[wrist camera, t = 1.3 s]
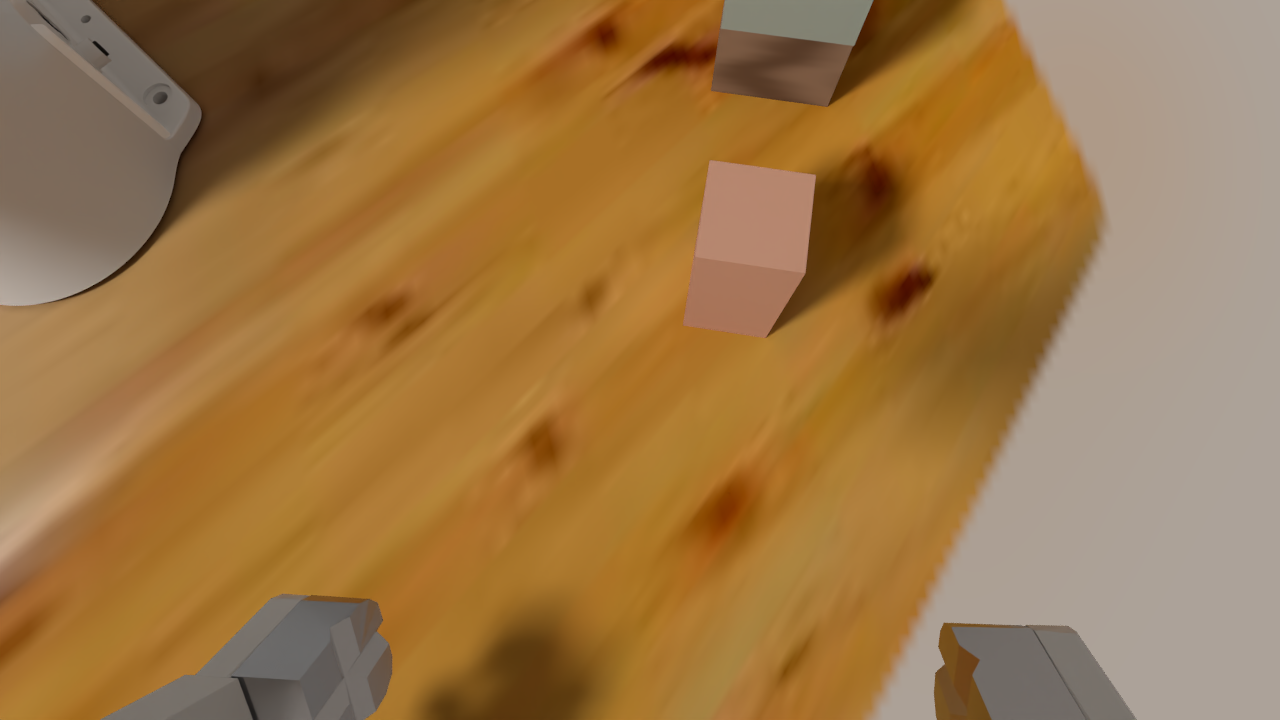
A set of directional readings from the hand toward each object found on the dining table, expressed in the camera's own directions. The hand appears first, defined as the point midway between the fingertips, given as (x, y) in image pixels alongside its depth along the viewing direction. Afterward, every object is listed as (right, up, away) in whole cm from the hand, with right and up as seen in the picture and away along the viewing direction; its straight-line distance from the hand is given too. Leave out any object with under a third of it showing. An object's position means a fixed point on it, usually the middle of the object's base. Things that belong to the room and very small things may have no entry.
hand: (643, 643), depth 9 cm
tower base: (+8, +23, +30) cm, 39 cm away
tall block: (+5, +8, +26) cm, 27 cm away
